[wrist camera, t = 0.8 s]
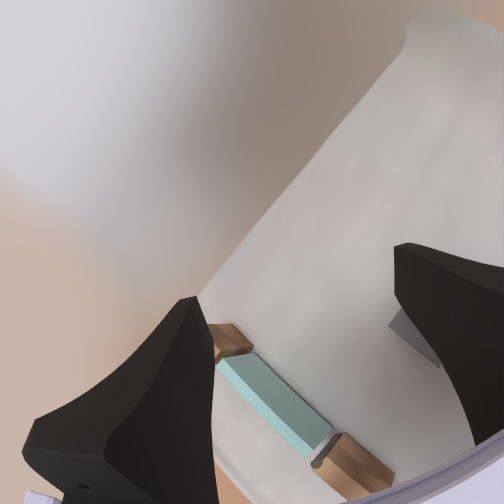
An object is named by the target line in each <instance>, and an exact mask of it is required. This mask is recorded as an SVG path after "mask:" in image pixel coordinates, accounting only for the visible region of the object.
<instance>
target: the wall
mask: <svg viewBox="0 0 504 504" xmlns="http://www.w3.org/2000/svg"><path fill="white" fill-rule="evenodd" d="M207 325H208V328H209V330H210V333H211V335H212V338H213V340H214V353H215V364H218V363H219V362H220V361H221V360H222V358H227V357H233V356H238V355H244V354H248V353H249V352H250V350H251V349H252V348H253V347H254V345H253V344H252V343H251V342H250V341H249V340H248V339H247V338H246V337H245V336H244V335H243V334H242V333H241V332H240V331H239V330H238V329H237V328H236V327H235V326H234V325H233V324H207ZM311 466H312V469H311V470H312V471H313V472H315V473H316V474H317V475H318V476H319V477H320V478H321V479H323V480H324V481H325V482H326V483H327V484H328V485H330V486H331V487H332V488H333V489H334V490H335V491H337V492H338V493H339V494H340V495H341V496H343V497H344V498H345V499H346V500H348V501H351V500H354V499H357V498H361V497H364V496H367V495H370V494H373V493H376V492H379V491H382V490H384V489H387V488H390V487H391V486H392V482H393V478H394V475H395V474H394V473H393V472H392V471H391V470H389V469H388V468H387V467H386V466H385V465H383V464H382V463H381V462H380V461H379V460H377V459H376V458H375V457H374V456H373V455H371V454H370V453H369V452H368V451H367V450H365V449H364V448H363V447H362V446H361V445H360V444H358V443H357V442H356V441H355V440H354V439H353V438H351V437H350V436H349V435H348V434H347V433H346V432H345V433H344V434H342V435H340V434H335V435H334V436H333V437H332V439H331V440H330V441H329V442H328V444H327V445H326V446H325V447H324V448H323V449H322V451H321V452H320V453H319V454H318V455H317V456H316V458H315V459H314V460H313V461H312V462H311Z"/></svg>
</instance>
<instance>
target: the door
mask: <svg viewBox="0 0 504 504" xmlns="http://www.w3.org/2000/svg"><path fill="white" fill-rule="evenodd" d="M216 368H217V370H218V371H219V372H220V373H221V374H222V375H223V376H224V377H225V379H226V380H227V381H228V382H229V383H230V384H231V385H232V386H233V387H234V388H235V389H236V391H237V392H238V393H239V394H240V395H241V396H242V397H243V398H244V399H245V400H246V401H247V402H248V403H249V404H250V405H251V407H252V408H253V409H254V410H255V411H256V412H257V413H258V414H259V415H260V416H261V417H262V418H263V419H264V420H265V421H266V422H267V423H268V424H269V425H270V426H271V427H272V428H273V429H274V430H275V431H276V432H277V433H278V434H279V435H280V436H281V437H282V438H283V439H284V440H285V441H286V442H287V443H288V444H290V445H291V446H292V447H293V448H294V449H295V450H296V451H297V452H298V453H299V454H300V455H301V456H302V457H303V458H305V457H306V456H307V455H308V454H309V453H311V452H312V451H313V450H314V449H315V448H316V447H317V446H318V445H319V443H320V442H321V441H322V440H323V439H324V438H325V437H326V436H327V434H328V433H329V432H330V431H331V430H332V429H333V427H332V426H330V425H329V424H328V423H327V422H326V421H325V420H324V419H323V418H322V417H321V416H319V415H318V414H317V413H316V412H315V411H314V410H313V409H312V408H311V407H310V406H309V405H308V404H306V403H305V402H304V401H303V400H302V399H301V398H300V397H299V396H298V395H297V394H296V393H295V392H294V391H293V390H292V389H291V388H290V387H289V386H288V385H286V384H285V383H284V382H283V381H282V380H281V379H280V378H279V377H278V376H277V375H276V374H275V373H274V372H273V371H272V370H271V369H270V368H269V367H268V366H267V365H266V364H265V363H264V362H263V361H262V360H261V359H260V358H259V357H258V356H257V355H256V354H255V353H249V354H244V355H238V356H233V357H227V358H222V360H221V361H220V362H219V363H218V365H217V366H216Z"/></svg>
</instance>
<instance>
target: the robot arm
mask: <svg viewBox="0 0 504 504" xmlns="http://www.w3.org/2000/svg"><path fill="white" fill-rule="evenodd" d="M394 274H395V290H394V294H395V296H396V297H397V299H398V301H399V303H400V305H401V306H402V308H403V310H404V312H405V313H406V315H407V316H408V317H409V319H410V320H411V321H412V323H413V324H414V325H415V327H416V328H417V329H418V331H419V332H420V333H421V335H422V336H423V337H424V339H425V340H426V341H427V343H428V344H429V345H430V347H431V348H432V349H433V351H434V352H435V353H436V355H437V356H438V358H439V359H440V361H441V363H442V364H443V366H444V368H445V370H446V372H447V374H448V376H449V378H450V379H451V381H452V384H453V386H454V388H455V390H456V392H457V394H458V397H459V399H460V401H461V404H462V406H463V409H464V411H465V414H466V417H467V419H468V422H469V425H470V428H471V432H472V435H473V438H474V442H475V445H476V447H474V448H472V449H470V450H469V451H467V452H465V453H463V454H462V455H460V456H458V457H456V458H454V459H452V460H450V461H449V462H447V463H445V464H443V465H441V466H439V467H437V468H434V469H432V470H430V471H428V472H426V473H424V474H421V475H419V476H417V477H415V478H412V479H410V480H408V481H405V482H403V483H400V484H398V485H395V486H392V487H390V488H387V489H384V490H382V491H379V492H376V493H373V494H370V495H367V496H364V497H361V498H357V499H354V500H351V501H347V502H344V503H340V504H504V268H503V267H498V266H493V265H488V264H483V263H479V262H476V261H472V260H468V259H465V258H461V257H458V256H454V255H451V254H448V253H445V252H442V251H439V250H435V249H432V248H429V247H425V246H422V245H418V244H414V243H404V244H401V245H397V246H394ZM214 373H215V353H214V340H213V338H212V335H211V333H210V330H209V328H208V325H207V323H206V320H205V318H204V315H203V312H202V310H201V307H200V305H199V302H198V299H197V297H196V296H194V297H189V298H185V299H180V300H179V301H178V302H177V303H176V304H175V305H174V306H173V308H172V309H171V310H170V311H169V312H168V314H167V315H166V316H165V318H164V319H163V320H162V321H161V322H160V324H159V325H158V326H157V327H156V329H155V330H154V331H153V332H152V333H151V334H150V335H149V337H148V338H147V339H146V340H145V341H144V342H143V343H142V345H140V346H139V348H138V349H137V350H136V351H135V352H134V353H133V354H132V355H131V356H130V357H129V358H128V359H127V360H126V361H125V362H124V363H123V364H122V365H120V366H119V367H118V368H117V369H116V370H115V371H114V372H112V373H111V374H110V375H109V376H107V377H106V378H105V379H103V380H102V381H101V382H99V383H98V384H97V385H95V386H94V387H93V388H91V389H90V390H89V391H87V392H86V393H84V394H82V395H81V396H80V397H78V398H76V399H74V400H73V401H71V402H69V403H68V404H66V405H64V406H62V407H60V408H58V409H56V410H54V411H52V412H50V413H48V414H46V415H44V416H42V417H40V418H37V419H35V421H34V423H33V426H32V428H31V430H30V433H29V435H28V437H27V440H26V442H25V445H24V447H23V450H22V454H23V457H24V459H25V461H26V462H27V463H28V465H29V466H30V467H31V468H32V469H33V470H34V471H35V472H37V473H38V474H39V475H40V476H42V477H43V478H44V479H45V480H47V481H48V482H49V483H51V484H52V485H53V486H55V487H56V488H57V489H59V490H60V491H62V492H63V493H64V497H63V500H62V501H61V500H59V499H57V498H54V497H51V496H48V495H44V494H41V493H37V492H34V491H31V490H29V491H27V494H26V497H25V501H24V504H219V499H218V493H217V486H216V478H215V469H214V458H213V447H212V431H211V414H212V400H213V387H214Z"/></svg>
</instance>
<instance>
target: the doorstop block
mask: <svg viewBox="0 0 504 504" xmlns="http://www.w3.org/2000/svg"><path fill="white" fill-rule="evenodd" d="M388 326H389V327H390V328H391V329H393V330H394V331H395V332H396V333H397V334H399V335H400V336H401V337H402V338H403V339H405V340H406V341H407V342H408V343H410V344H411V345H412V346H413V347H414V348H416V349H417V350H418V351H419V352H420V353H422V354H423V355H424V356H425V357H426V358H428V359H429V360H430V361H431V362H432V363H434V364H435V365H436V366H437V367H438V368H439V367H440V365H441V364H442V363H441V361H440V359H439V358H438V356H437V355H436V353H435V352H434V351H433V349H432V348H431V347H430V345H429V344H428V343H427V341H426V340H425V339H424V337H423V336H422V335H421V333H420V332H419V331H418V329H417V328H416V327H415V325H414V324H413V323H412V321H411V320H410V319H409V317H408V316H407V315H406V313H405V312H404V310H403V308H401V309H400V311H399V312H398V313H397V315H396V316H395V317H394V319H393V320H392V321H391V323H390V324H389V325H388Z"/></svg>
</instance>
